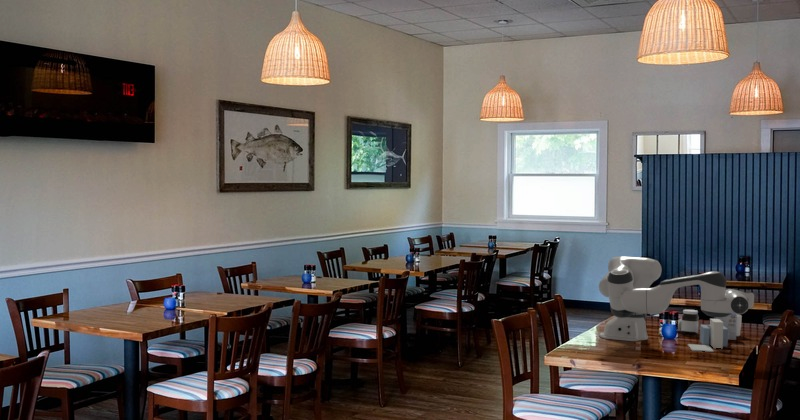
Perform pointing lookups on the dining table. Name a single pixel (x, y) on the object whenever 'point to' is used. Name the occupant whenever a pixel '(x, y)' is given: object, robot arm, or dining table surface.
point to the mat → (700, 348)
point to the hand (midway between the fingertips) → (725, 295)
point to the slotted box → (706, 332)
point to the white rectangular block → (716, 333)
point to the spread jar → (689, 322)
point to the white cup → (738, 325)
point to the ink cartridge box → (729, 325)
